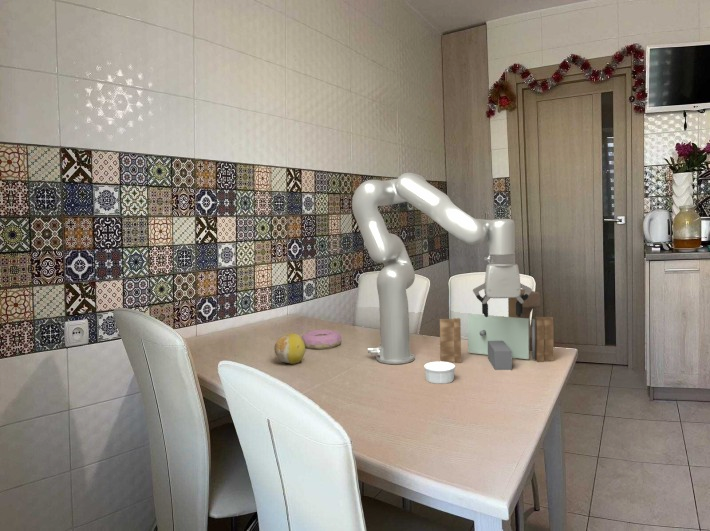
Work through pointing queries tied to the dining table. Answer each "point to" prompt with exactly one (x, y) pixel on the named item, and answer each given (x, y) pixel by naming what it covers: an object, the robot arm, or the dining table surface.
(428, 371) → the ramekin
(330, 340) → the donut
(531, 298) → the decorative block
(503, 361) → the grey block
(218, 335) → the dining table surface
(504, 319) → the door
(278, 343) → the fruit
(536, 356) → the frame
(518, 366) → the dining table surface
